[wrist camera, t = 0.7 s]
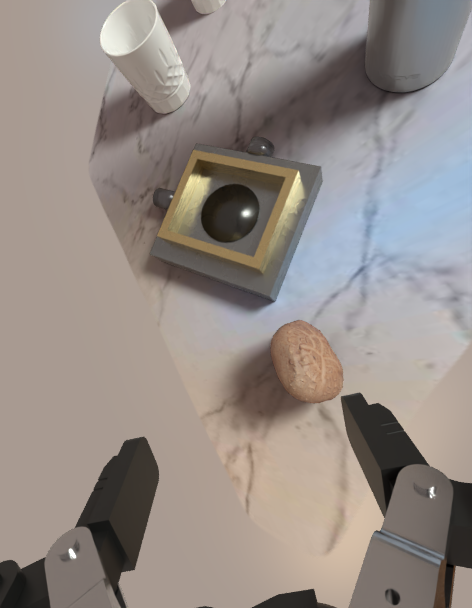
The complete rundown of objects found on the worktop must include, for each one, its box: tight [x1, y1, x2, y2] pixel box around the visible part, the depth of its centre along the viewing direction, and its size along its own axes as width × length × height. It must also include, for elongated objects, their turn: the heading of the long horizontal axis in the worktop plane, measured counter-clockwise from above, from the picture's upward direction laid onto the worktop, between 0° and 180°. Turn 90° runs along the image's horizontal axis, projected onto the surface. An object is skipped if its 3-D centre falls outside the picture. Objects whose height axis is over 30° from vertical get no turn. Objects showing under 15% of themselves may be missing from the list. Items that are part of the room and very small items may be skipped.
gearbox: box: [150, 137, 323, 301], centre depth 38 cm, size 17×19×5 cm
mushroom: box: [270, 320, 344, 403], centre depth 30 cm, size 8×6×8 cm
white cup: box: [100, 0, 191, 114], centre depth 42 cm, size 8×8×10 cm
